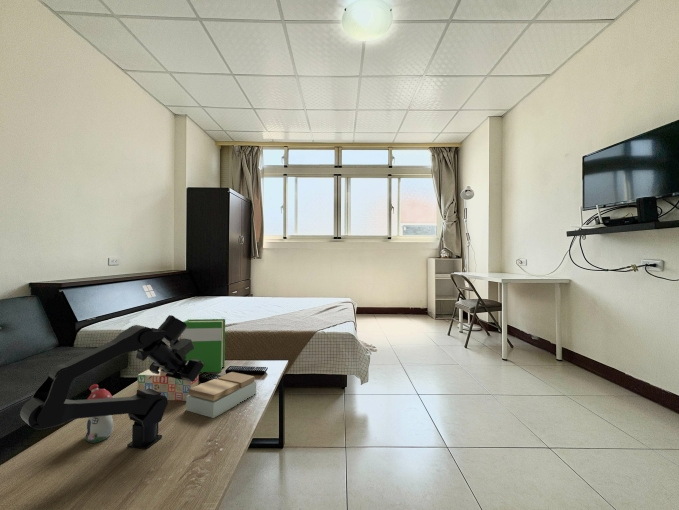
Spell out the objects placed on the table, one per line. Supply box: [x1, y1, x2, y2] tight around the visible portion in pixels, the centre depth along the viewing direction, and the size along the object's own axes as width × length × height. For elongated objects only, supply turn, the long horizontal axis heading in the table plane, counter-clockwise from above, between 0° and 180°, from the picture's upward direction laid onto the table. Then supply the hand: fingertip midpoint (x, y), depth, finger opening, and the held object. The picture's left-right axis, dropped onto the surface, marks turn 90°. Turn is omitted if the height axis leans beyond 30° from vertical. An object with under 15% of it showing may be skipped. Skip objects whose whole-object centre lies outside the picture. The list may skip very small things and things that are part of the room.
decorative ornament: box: [84, 383, 114, 444], centre depth 97 cm, size 9×6×15 cm
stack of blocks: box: [137, 367, 200, 402], centre depth 126 cm, size 21×6×12 cm, turn 85°
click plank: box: [189, 378, 239, 401], centre depth 117 cm, size 12×12×2 cm
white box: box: [185, 371, 257, 419], centre depth 121 cm, size 22×13×7 cm, turn 155°
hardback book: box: [182, 318, 226, 374], centre depth 156 cm, size 18×7×24 cm, turn 97°
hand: (191, 379), depth 108 cm, fingers closed
